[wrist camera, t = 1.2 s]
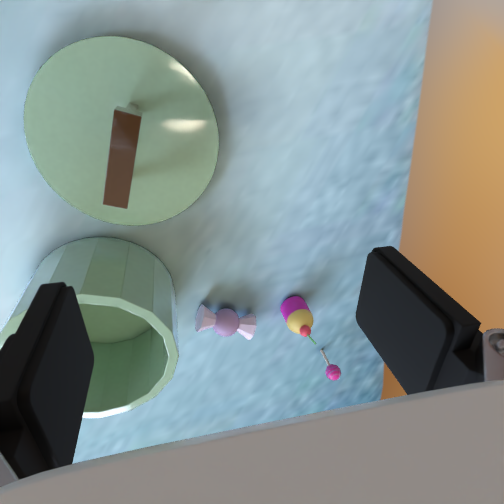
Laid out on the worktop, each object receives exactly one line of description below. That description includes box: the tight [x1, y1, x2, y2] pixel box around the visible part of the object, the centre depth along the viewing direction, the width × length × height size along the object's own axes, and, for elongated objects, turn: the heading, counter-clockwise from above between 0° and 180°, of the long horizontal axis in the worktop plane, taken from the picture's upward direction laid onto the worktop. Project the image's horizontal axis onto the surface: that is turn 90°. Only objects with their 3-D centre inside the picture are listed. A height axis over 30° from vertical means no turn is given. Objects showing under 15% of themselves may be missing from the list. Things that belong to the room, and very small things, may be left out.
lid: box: [24, 36, 219, 226], centre depth 24 cm, size 14×14×6 cm
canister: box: [0, 237, 179, 418], centre depth 30 cm, size 13×13×8 cm
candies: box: [195, 296, 341, 381], centre depth 37 cm, size 18×8×6 cm, turn 67°
